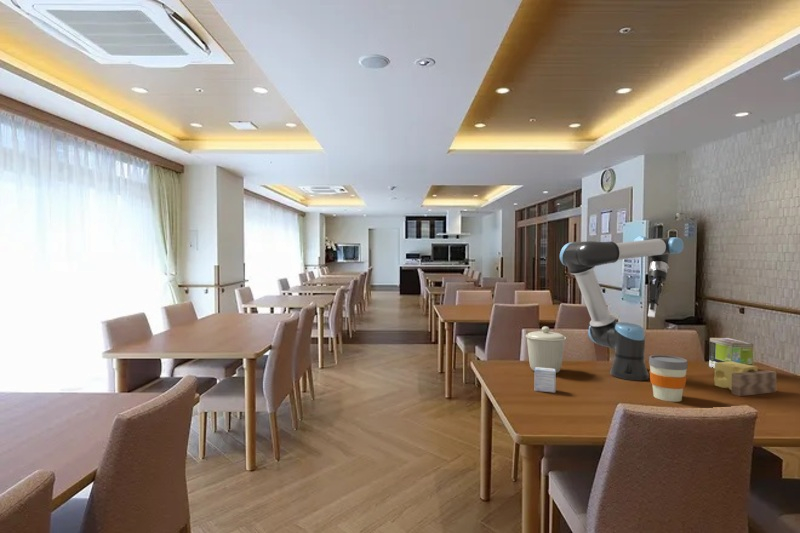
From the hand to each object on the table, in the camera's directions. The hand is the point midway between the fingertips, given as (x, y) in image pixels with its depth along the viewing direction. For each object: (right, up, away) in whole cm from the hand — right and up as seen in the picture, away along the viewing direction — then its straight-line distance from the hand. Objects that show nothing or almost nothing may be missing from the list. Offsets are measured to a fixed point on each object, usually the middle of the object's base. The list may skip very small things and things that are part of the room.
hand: (651, 316), depth 198 cm
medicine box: (-62, -26, -31) cm, 74 cm away
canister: (-51, -26, -2) cm, 57 cm away
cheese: (+19, -26, -26) cm, 42 cm away
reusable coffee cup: (-18, -26, -39) cm, 50 cm away
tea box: (+38, -26, +1) cm, 46 cm away
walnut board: (+21, -26, -33) cm, 47 cm away
